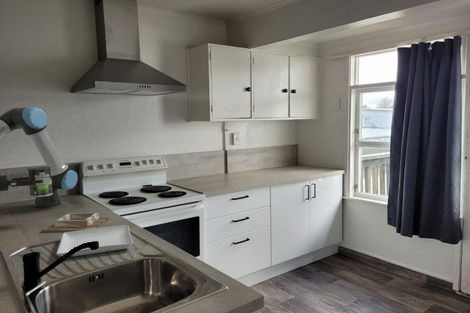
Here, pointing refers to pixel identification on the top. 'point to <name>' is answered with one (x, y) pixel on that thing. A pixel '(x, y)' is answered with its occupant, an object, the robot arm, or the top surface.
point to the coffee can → (40, 189)
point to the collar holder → (76, 222)
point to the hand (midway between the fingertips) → (49, 179)
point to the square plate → (105, 236)
